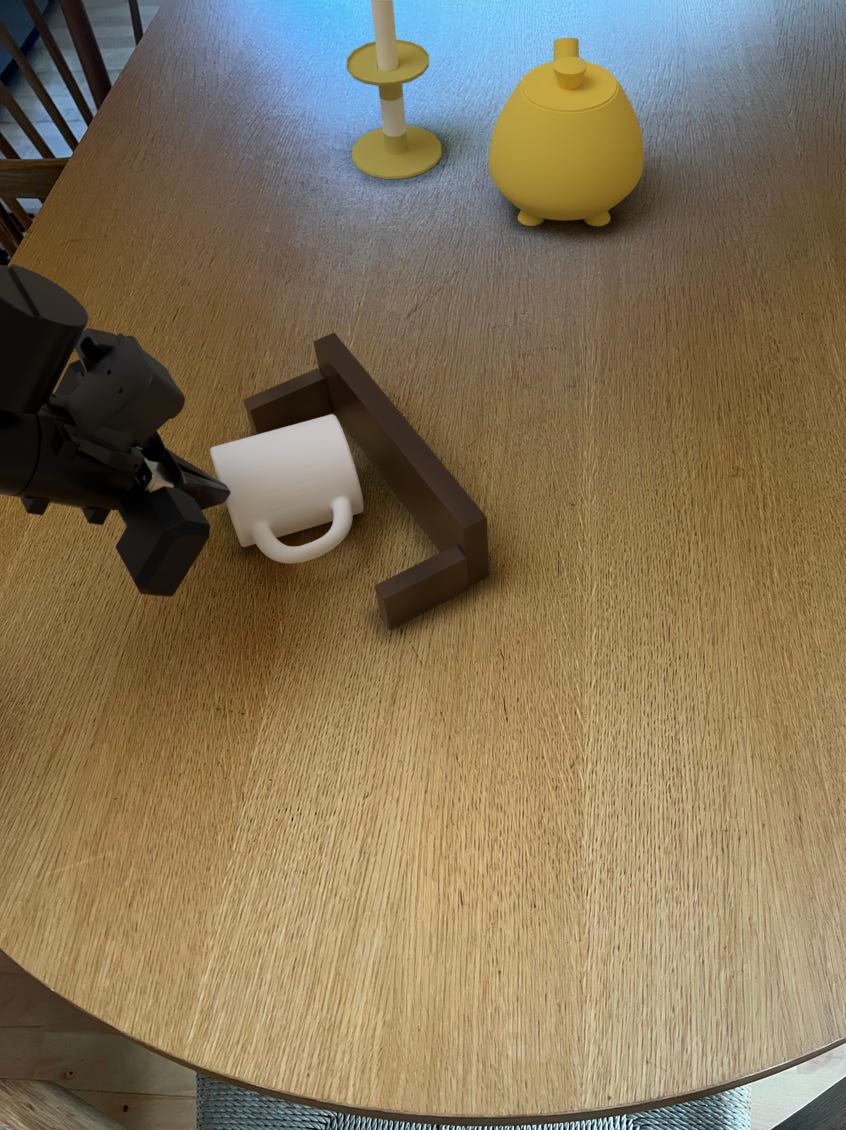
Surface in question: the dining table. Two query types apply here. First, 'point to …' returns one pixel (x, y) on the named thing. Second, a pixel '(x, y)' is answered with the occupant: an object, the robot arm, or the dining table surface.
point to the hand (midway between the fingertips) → (226, 494)
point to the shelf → (388, 475)
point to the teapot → (566, 142)
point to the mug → (290, 487)
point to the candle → (392, 102)
